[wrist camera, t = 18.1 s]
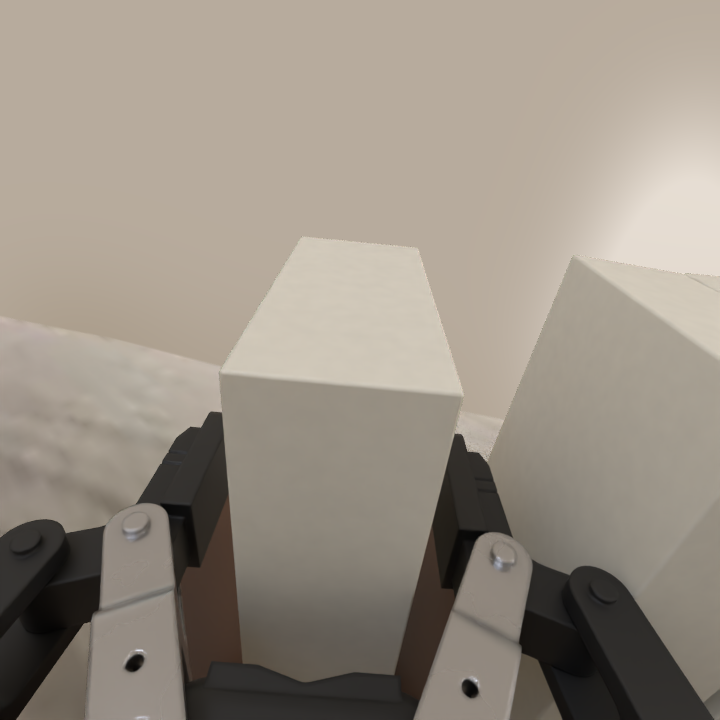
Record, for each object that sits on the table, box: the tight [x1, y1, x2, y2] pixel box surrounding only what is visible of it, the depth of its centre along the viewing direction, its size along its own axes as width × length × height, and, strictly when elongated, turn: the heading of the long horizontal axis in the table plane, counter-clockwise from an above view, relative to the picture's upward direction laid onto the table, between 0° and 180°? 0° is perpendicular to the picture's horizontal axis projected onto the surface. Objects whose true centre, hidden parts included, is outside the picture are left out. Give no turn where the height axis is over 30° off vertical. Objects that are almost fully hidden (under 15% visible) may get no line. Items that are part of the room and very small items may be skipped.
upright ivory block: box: [219, 237, 464, 682], centre depth 13 cm, size 4×8×12 cm, turn 178°
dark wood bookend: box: [180, 494, 455, 700], centre depth 12 cm, size 25×14×14 cm, turn 88°
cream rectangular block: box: [487, 255, 720, 720], centre depth 13 cm, size 4×8×12 cm, turn 178°
